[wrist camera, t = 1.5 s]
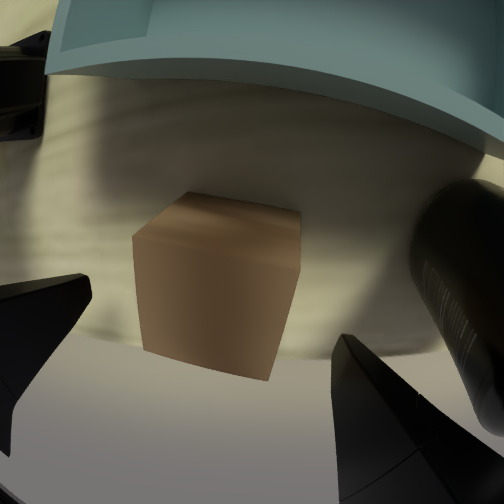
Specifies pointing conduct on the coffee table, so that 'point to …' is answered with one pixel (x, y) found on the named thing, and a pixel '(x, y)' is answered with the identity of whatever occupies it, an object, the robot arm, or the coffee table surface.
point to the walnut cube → (217, 282)
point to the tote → (307, 52)
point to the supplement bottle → (467, 287)
